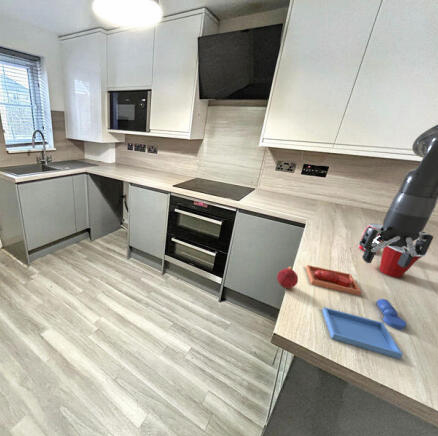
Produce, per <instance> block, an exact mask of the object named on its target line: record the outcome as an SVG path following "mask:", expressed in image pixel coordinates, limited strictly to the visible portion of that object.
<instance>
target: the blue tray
mask: <svg viewBox="0 0 438 436" xmlns="http://www.w3.org/2000/svg"><path fill="white" fill-rule="evenodd" d="M322 315H323V318H324V320H325V323H326V327H327V329H328V333H329V335H330V338H331V339H332V340H334V341H338V342H341V343H345V344H348V345H351V346H355V347H358V348H361V349H365V350H368V351H371V352H374V353H378V354H382V355H385V356H388V357H391V358H395V359H398V360H401V358H402V357H403V355H404V354H403V352H402V351H401V349H400V348H399V346H398V345H397V343H396V341H395V339H394V338H393V336H392V335H391V333H390V332H389V330H388V329H387V327H386V325H385V323H384V322H383V321H379V320H376V319H375V320H374V319H371V318H367V317H364V316H360V315H355V314H352V313H348V312H345V311H344V312H343V311H342V310H341V311H340V310H337V309H332V308H329V307H325V306H323V308H322Z"/></svg>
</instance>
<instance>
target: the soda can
mask: <svg viewBox="0 0 438 436" xmlns="http://www.w3.org/2000/svg"><path fill="white" fill-rule="evenodd" d="M367 227H372V228H374V229H381V228H382V227H383V224H379V223H369V225H368V226H366V227H365V228H364V231H363V233H362V235H361V238H360V240H359V242H360V241H361V239H362V237H363V235H364V233H365V231H366V229H367ZM378 236H379V234H378ZM378 236H377V237H378ZM375 238H376V237H375ZM380 243H382V240H381V241H380ZM357 246H358V249H359V250H360V251H362V252H363V253H364V252H365V250H366V249H365V248H363V247H362V246H361V245H359V244H358V245H357ZM375 246H376V245H375ZM373 247H374V246H373ZM381 250H382V248H380V249H379V250H377V251H375V255H377V254H379V253H380V251H381Z"/></svg>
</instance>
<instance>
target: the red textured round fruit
mask: <svg viewBox="0 0 438 436" xmlns="http://www.w3.org/2000/svg"><path fill="white" fill-rule="evenodd" d="M276 279H277V283H278V284H279V285H280V287H282V288H284V289H291V288H294V287H295V286H296V285H297V284H298V282H299V276H298V274H297V273H296V271H295V270H293V267H292V266H288V267H287V268H283V269H281V270H279V271H278V273H277V275H276Z"/></svg>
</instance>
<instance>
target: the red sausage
mask: <svg viewBox="0 0 438 436" xmlns="http://www.w3.org/2000/svg"><path fill="white" fill-rule="evenodd" d="M315 276H316V277H317V278H319V279H323V280H327V281H332V282H335V283H336V284H338V285H340V286H343V287H350V284H351V282H352V281H351V280H350V279H349V278H347V277H345V276H341V275H337V274H335V273H331V272H327V271H322V270H317V271H315Z"/></svg>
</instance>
